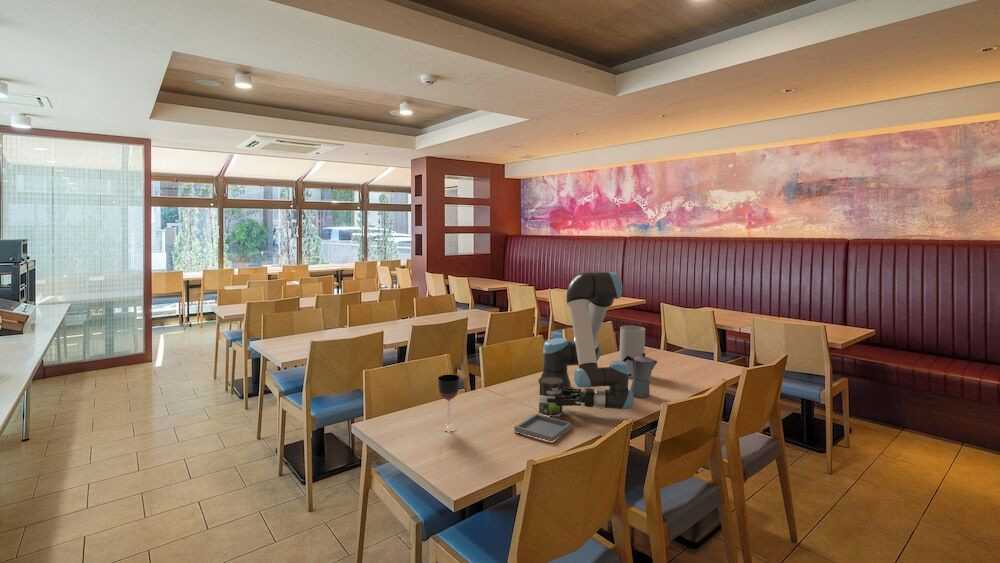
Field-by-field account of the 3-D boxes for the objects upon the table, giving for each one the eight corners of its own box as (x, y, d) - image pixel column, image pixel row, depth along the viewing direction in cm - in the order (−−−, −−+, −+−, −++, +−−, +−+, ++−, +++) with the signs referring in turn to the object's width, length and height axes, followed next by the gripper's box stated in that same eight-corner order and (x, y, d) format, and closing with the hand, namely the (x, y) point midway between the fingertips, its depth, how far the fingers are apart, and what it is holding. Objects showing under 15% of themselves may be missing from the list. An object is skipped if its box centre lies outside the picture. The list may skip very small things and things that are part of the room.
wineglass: (459, 423, 200) (459, 374, 197) (458, 432, 191) (458, 381, 189) (439, 423, 199) (439, 374, 197) (437, 432, 191) (437, 381, 188)
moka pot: (657, 399, 228) (659, 356, 226) (622, 397, 231) (623, 354, 229) (655, 393, 237) (657, 351, 235) (621, 390, 240) (622, 349, 238)
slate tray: (514, 432, 191) (514, 426, 191) (535, 419, 204) (536, 413, 204) (551, 443, 182) (551, 437, 182) (571, 428, 195) (571, 422, 195)
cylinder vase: (628, 370, 274) (630, 324, 271) (648, 375, 264) (650, 328, 261) (613, 374, 266) (615, 327, 263) (633, 380, 256) (635, 331, 253)
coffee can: (566, 415, 209) (567, 382, 207) (543, 418, 206) (543, 384, 204) (556, 407, 218) (557, 375, 217) (534, 409, 215) (534, 377, 214)
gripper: (594, 417, 198) (537, 413, 201) (593, 397, 220) (542, 394, 223) (595, 398, 197) (537, 394, 200) (594, 380, 219) (542, 377, 222)
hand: (540, 394), depth 212 cm, fingers closed on coffee can, 10 cm apart
